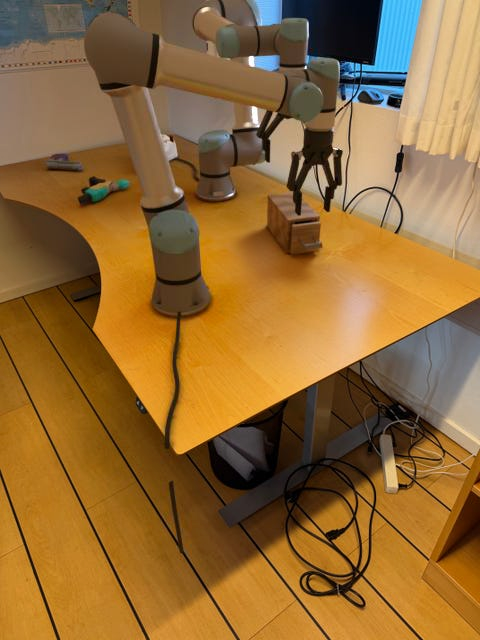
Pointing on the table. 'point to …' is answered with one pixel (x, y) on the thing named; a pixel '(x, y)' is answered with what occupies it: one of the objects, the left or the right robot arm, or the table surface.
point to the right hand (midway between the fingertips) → (288, 159)
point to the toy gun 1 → (62, 162)
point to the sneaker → (169, 146)
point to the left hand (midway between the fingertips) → (312, 211)
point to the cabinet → (286, 217)
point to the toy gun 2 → (100, 189)
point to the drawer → (305, 236)
